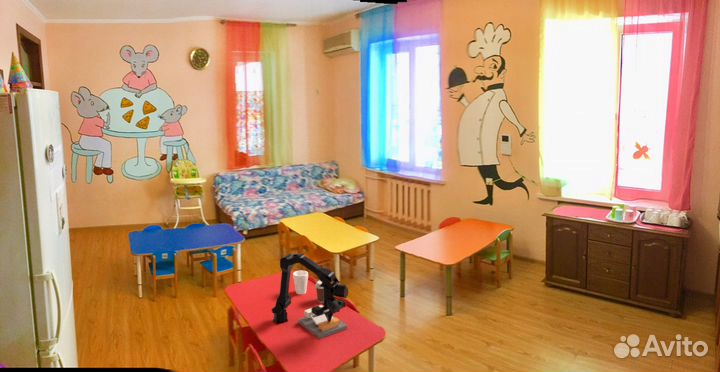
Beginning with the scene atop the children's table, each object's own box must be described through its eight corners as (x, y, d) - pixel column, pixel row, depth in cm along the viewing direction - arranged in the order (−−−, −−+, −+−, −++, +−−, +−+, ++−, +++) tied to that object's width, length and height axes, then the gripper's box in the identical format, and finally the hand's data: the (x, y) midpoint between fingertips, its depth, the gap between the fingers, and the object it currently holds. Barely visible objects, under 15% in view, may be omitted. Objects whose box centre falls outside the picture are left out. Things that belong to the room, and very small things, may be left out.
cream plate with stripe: (316, 325, 265) (317, 324, 264) (310, 316, 270) (310, 315, 269) (333, 319, 271) (334, 318, 271) (327, 311, 276) (327, 309, 275)
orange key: (322, 331, 260) (322, 326, 260) (318, 328, 264) (318, 323, 263) (339, 325, 267) (339, 320, 266) (335, 322, 270) (335, 317, 269)
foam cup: (296, 296, 307) (296, 277, 305) (291, 291, 316) (290, 272, 313) (310, 293, 312) (310, 274, 309) (305, 288, 320) (304, 269, 317)
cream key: (308, 318, 272) (308, 313, 271) (304, 315, 275) (304, 310, 274) (325, 312, 278) (324, 307, 278) (321, 309, 281) (321, 305, 281)
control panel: (319, 339, 257) (318, 331, 256) (298, 322, 275) (298, 315, 274) (347, 328, 268) (347, 321, 267) (325, 313, 285) (325, 307, 284)
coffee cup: (325, 295, 309) (324, 277, 306) (333, 301, 301) (332, 282, 299) (312, 299, 303) (312, 281, 301) (320, 305, 296) (320, 286, 294)
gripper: (321, 304, 250) (322, 333, 253) (351, 295, 260) (352, 322, 264) (310, 297, 258) (311, 324, 262) (340, 288, 269) (340, 314, 272)
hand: (329, 321), depth 265 cm, fingers closed, pressing on orange key
